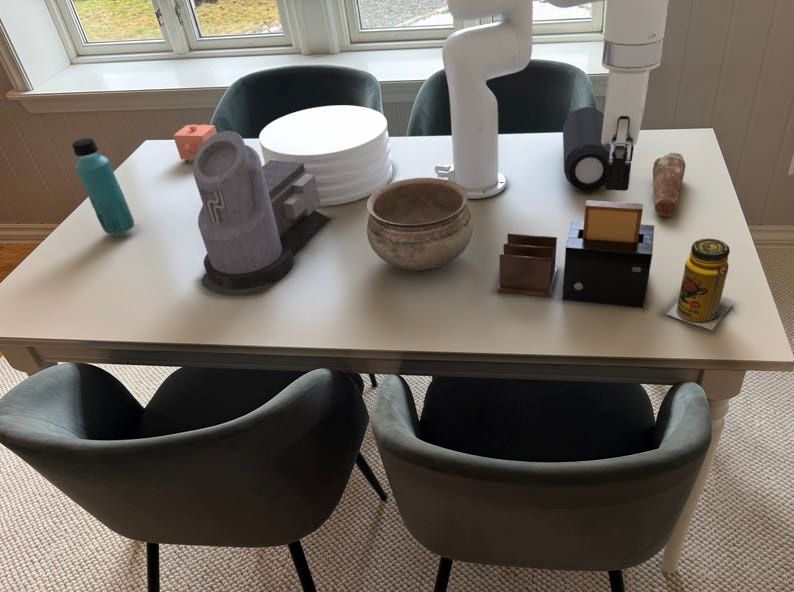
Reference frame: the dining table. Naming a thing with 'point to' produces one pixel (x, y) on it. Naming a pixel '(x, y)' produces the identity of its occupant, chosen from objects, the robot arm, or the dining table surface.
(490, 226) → the dining table surface
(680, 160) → the reddish-brown tapered rod
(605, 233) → the toast
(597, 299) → the toaster
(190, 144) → the pink cube teapot
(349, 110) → the plate stack
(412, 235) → the cooking pot
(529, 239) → the rack
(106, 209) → the beverage bottle
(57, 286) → the dining table surface
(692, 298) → the condiment
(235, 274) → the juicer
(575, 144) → the portable speaker
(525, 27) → the robot arm
